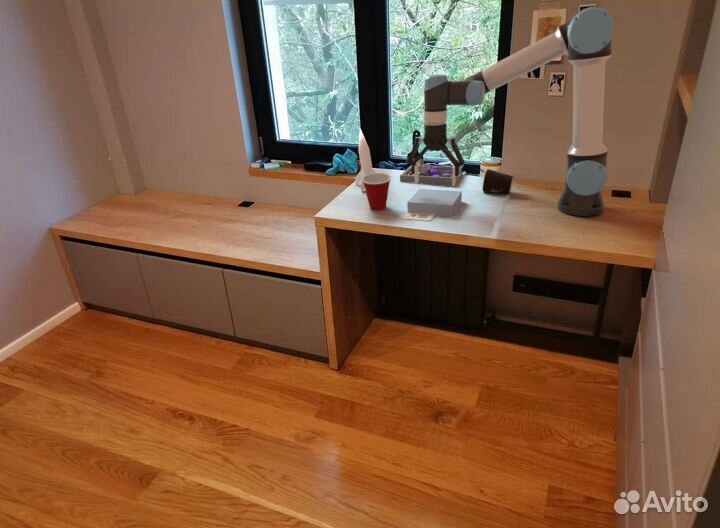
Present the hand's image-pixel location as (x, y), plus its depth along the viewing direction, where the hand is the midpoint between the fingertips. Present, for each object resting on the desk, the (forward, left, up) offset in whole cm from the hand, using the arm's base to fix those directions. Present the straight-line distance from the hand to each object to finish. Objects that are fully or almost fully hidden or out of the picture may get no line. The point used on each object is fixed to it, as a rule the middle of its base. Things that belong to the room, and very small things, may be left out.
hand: (435, 183), depth 186 cm
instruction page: (+3, +11, -9) cm, 14 cm away
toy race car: (+8, -34, -9) cm, 36 cm away
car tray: (+10, -33, -9) cm, 36 cm away
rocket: (+28, -15, -9) cm, 33 cm away
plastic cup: (+20, +6, -9) cm, 23 cm away
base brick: (0, 0, -9) cm, 9 cm away
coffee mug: (-24, -24, -6) cm, 35 cm away
